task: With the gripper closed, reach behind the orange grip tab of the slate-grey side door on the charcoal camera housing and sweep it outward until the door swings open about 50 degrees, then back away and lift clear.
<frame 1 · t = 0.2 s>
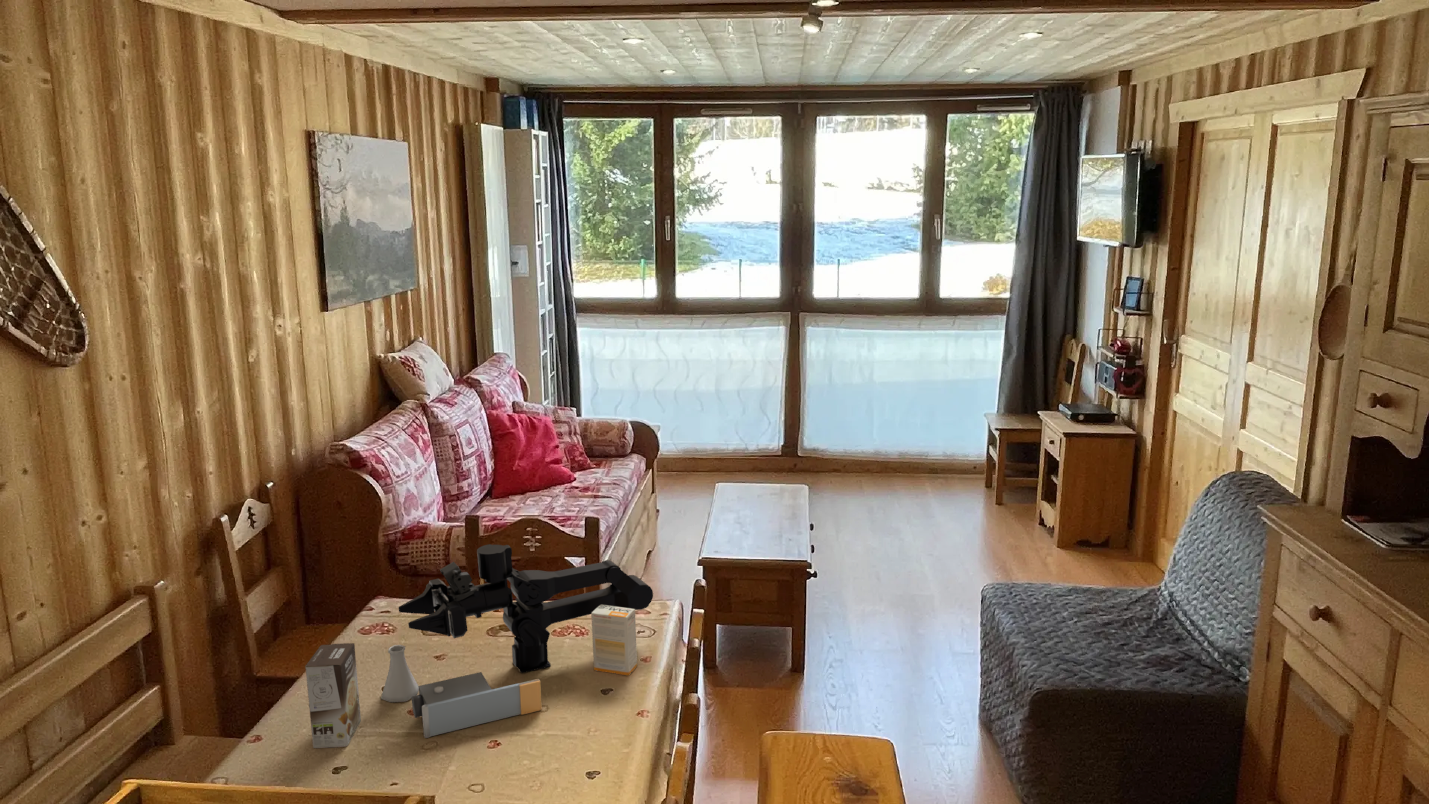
hand: (403, 617, 195), 16 cm above the table, tool horizontal, fingers open, 9 cm apart
camera housing: (457, 716, 189), on the table
side door: (483, 707, 186), point 3 cm above the table, hinge at 0.0°
flask: (400, 695, 198), on the table
supplement box: (615, 669, 208), on the table
coffee box: (337, 735, 183), on the table
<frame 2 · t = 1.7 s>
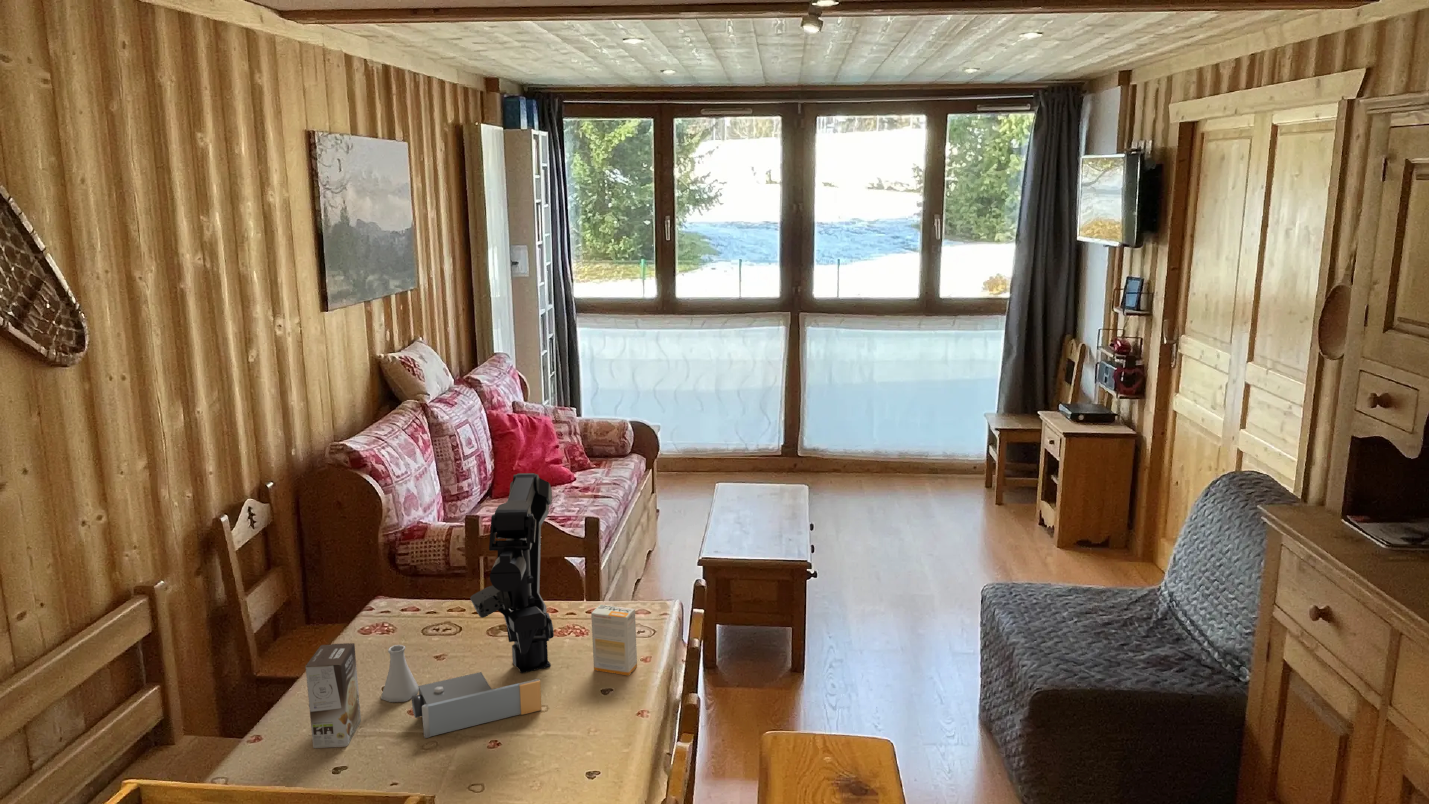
hand: (518, 646, 194), 11 cm above the table, tool pointing down, fingers open, 6 cm apart
nothing on the table moved.
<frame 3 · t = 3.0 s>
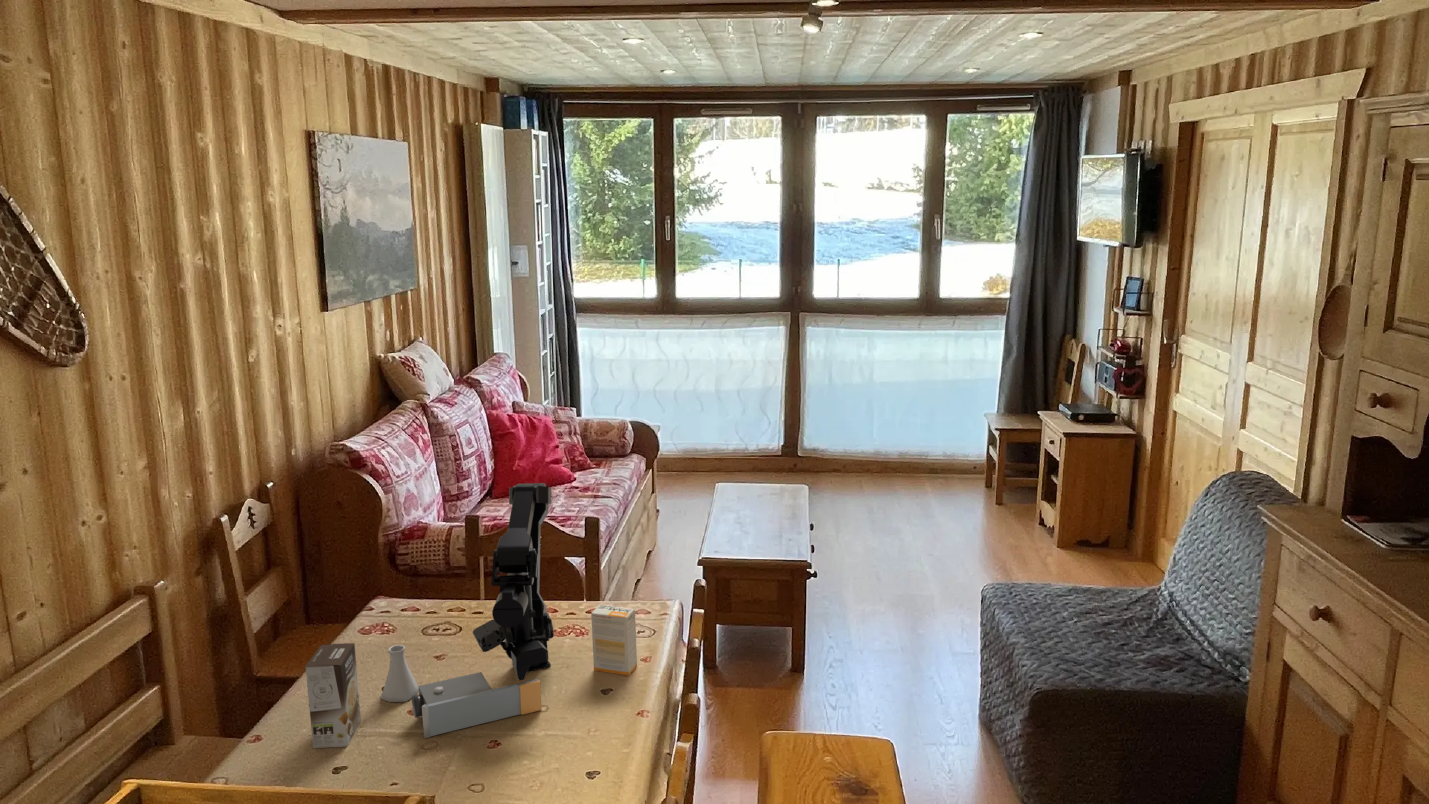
hand: (520, 679, 195), 4 cm above the table, tool pointing down, fingers closed
nothing on the table moved.
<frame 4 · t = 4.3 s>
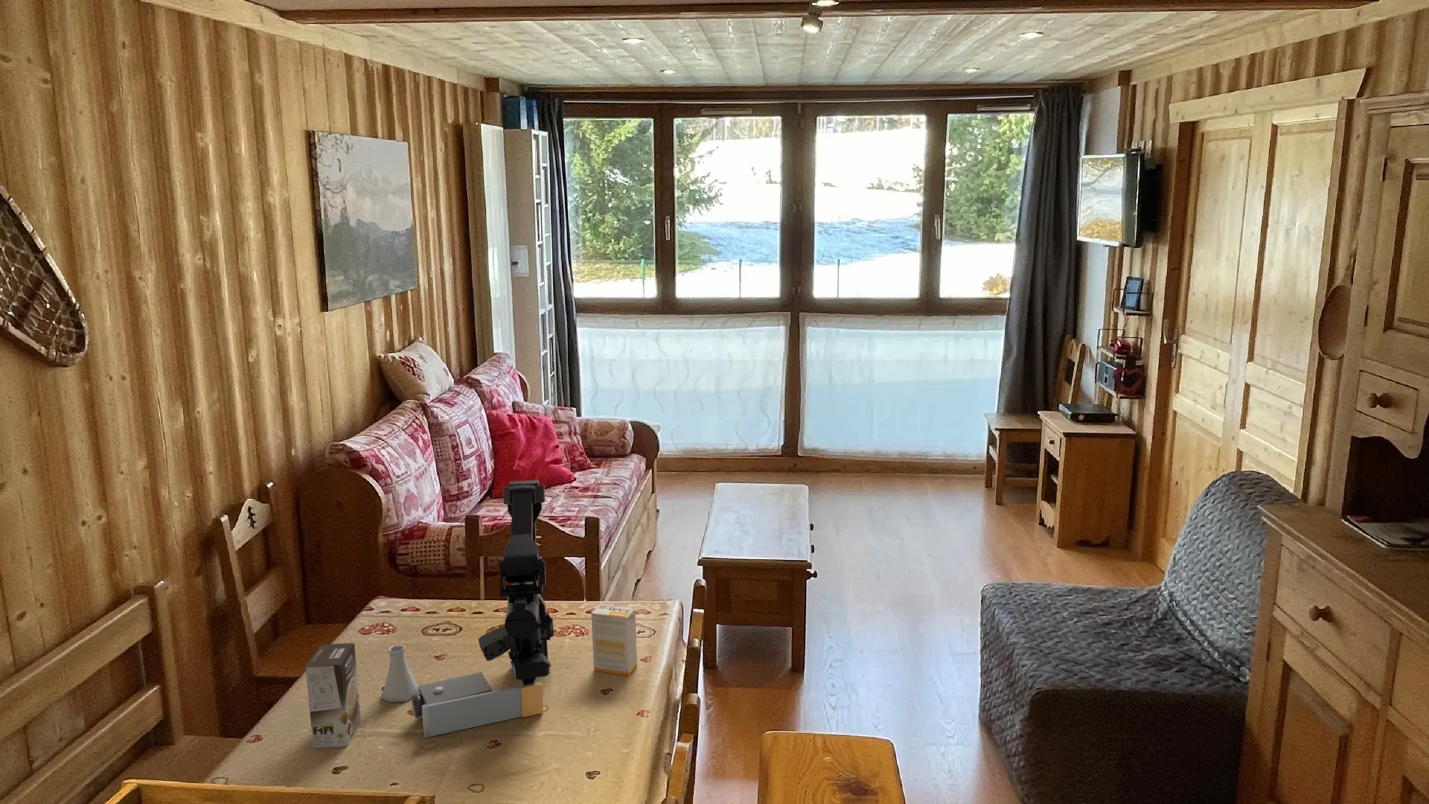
hand: (527, 690, 191), 4 cm above the table, tool pointing down, fingers closed
side door: (483, 709, 186), point 3 cm above the table, hinge at 3.3°, touching gripper
everything else where it was.
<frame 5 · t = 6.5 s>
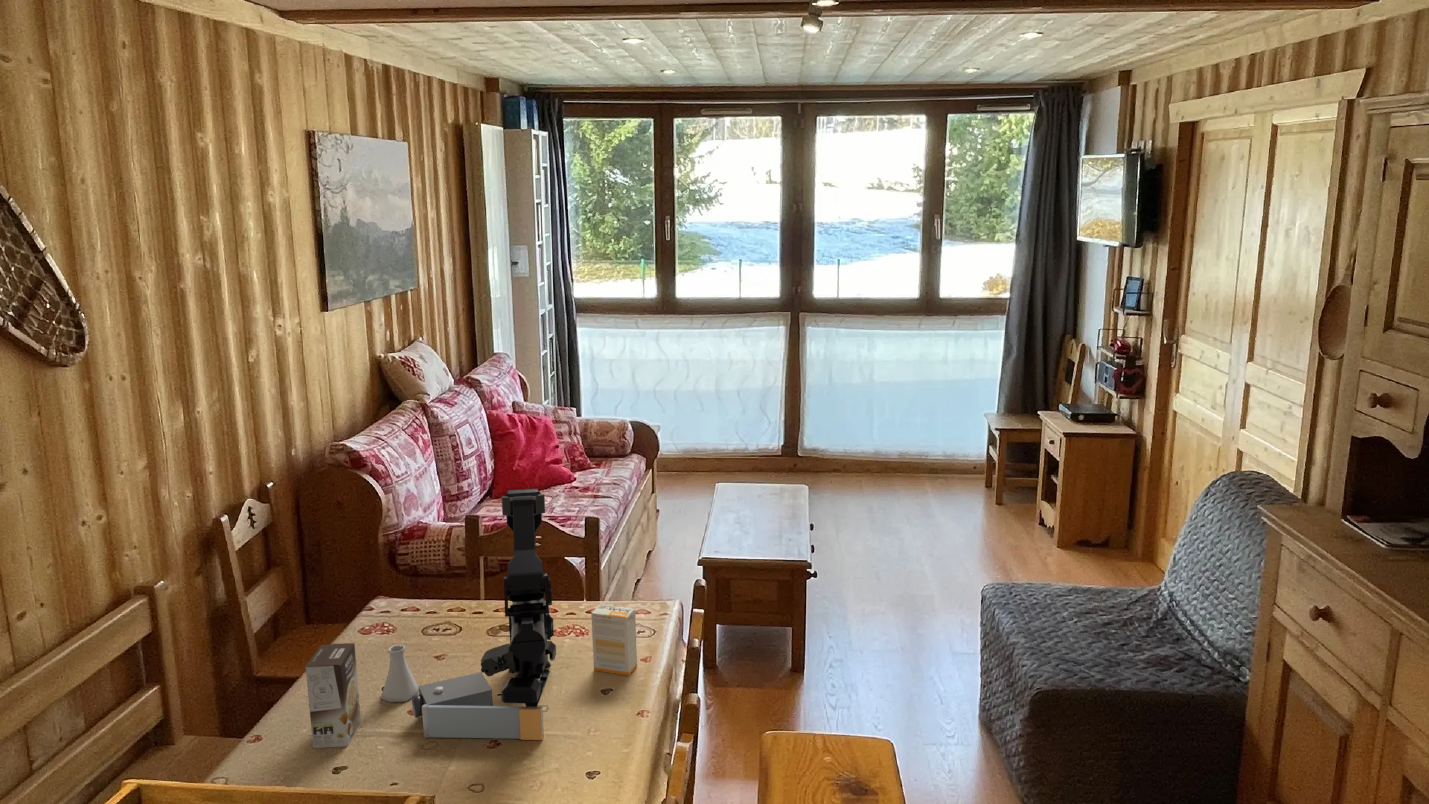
hand: (531, 713, 182), 4 cm above the table, tool pointing down, fingers closed
side door: (482, 722, 181), point 3 cm above the table, hinge at 29.5°, touching gripper
everything else where it was.
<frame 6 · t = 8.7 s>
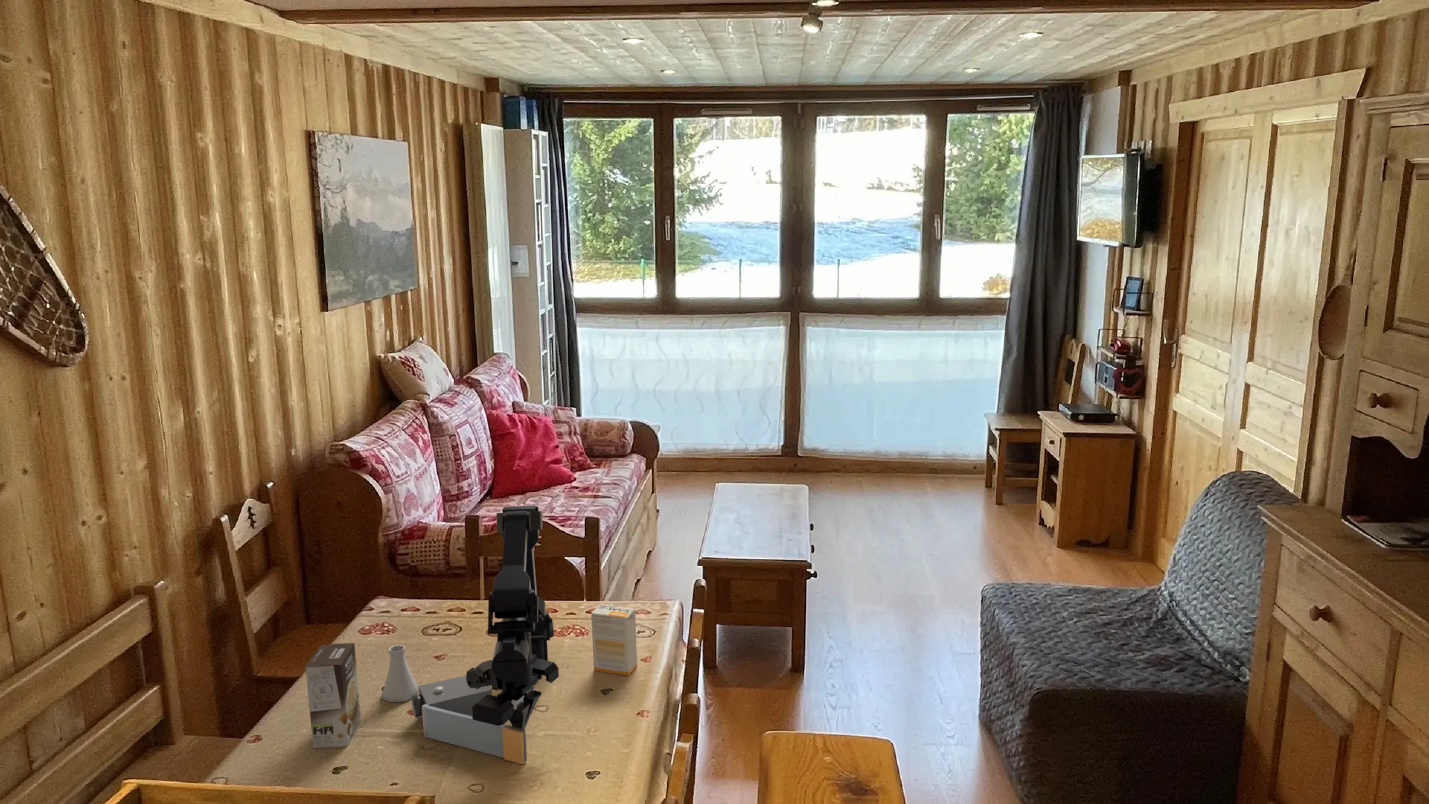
hand: (519, 734, 175), 4 cm above the table, tool pointing down, fingers closed
side door: (472, 733, 177), point 3 cm above the table, hinge at 51.0°, touching gripper
everything else where it was.
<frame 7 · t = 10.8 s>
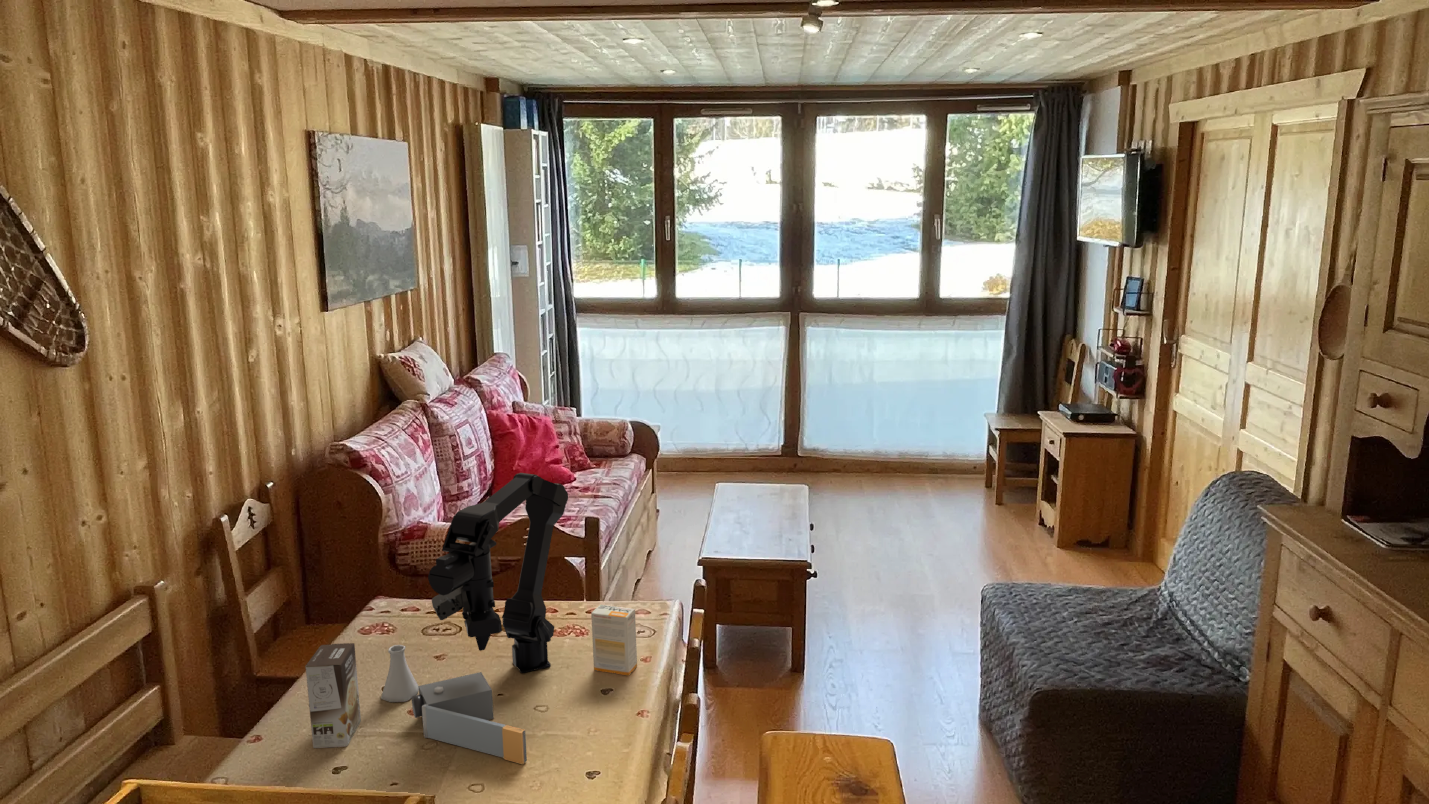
hand: (481, 649, 193), 11 cm above the table, tool pointing down, fingers closed
side door: (472, 733, 177), point 3 cm above the table, hinge at 51.1°
everything else where it was.
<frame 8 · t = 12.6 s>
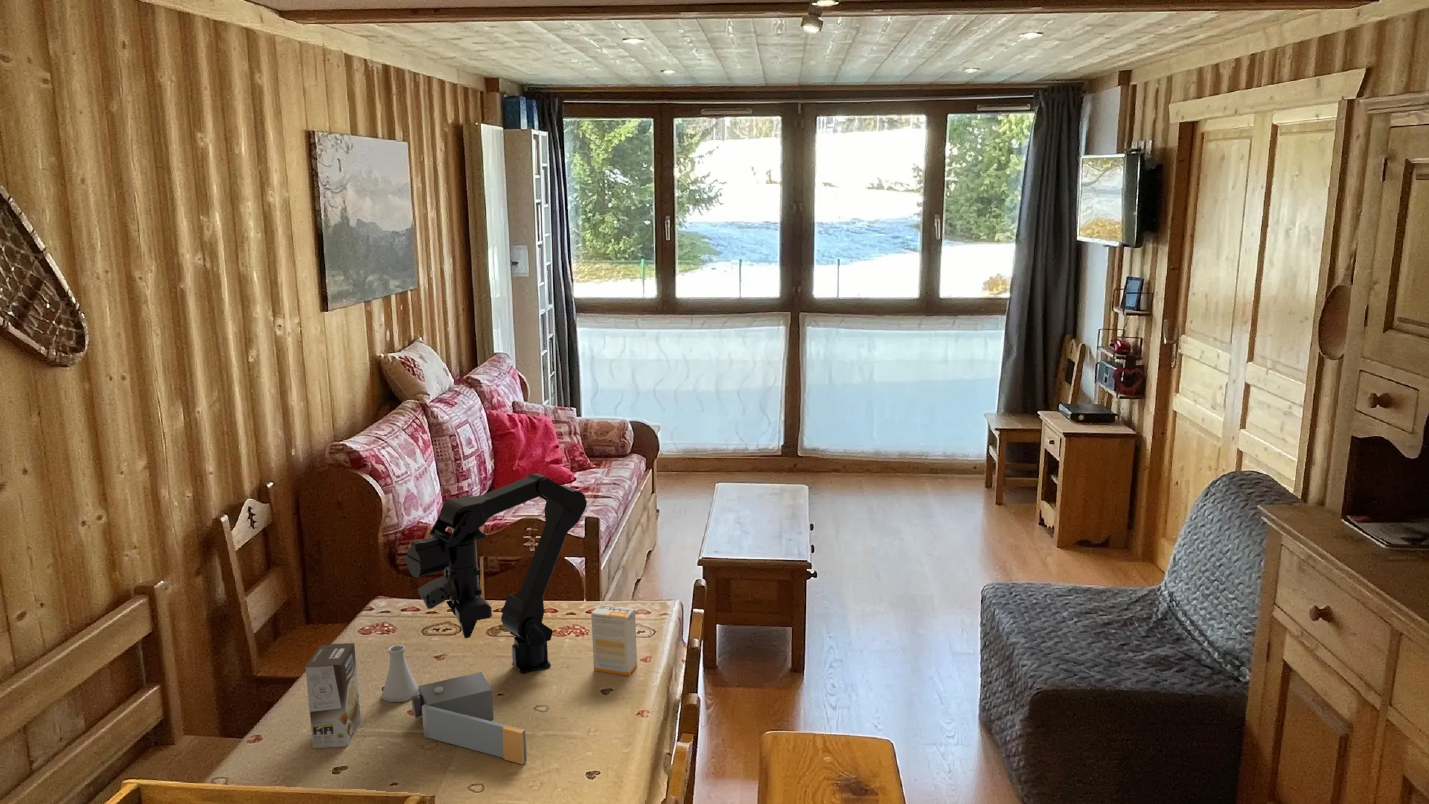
hand: (467, 637, 198), 11 cm above the table, tool pointing down, fingers closed
nothing on the table moved.
at the end: side door at +51° (first picture: +0°); flask moved 0.3 cm from its start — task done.
